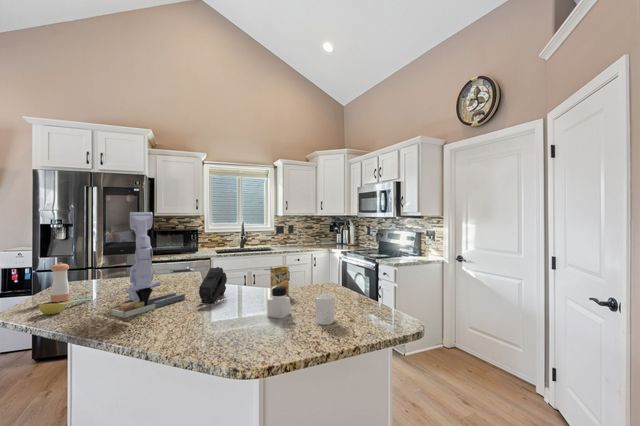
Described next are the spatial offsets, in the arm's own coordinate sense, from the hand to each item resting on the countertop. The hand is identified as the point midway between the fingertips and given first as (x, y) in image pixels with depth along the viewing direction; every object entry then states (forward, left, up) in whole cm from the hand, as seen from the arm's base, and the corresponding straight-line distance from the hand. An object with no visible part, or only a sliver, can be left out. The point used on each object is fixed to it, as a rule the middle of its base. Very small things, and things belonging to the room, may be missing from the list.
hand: (144, 305), depth 135 cm
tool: (+16, +25, -2) cm, 30 cm away
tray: (0, -5, -2) cm, 5 cm away
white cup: (+79, +21, -2) cm, 82 cm away
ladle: (-36, -12, -3) cm, 38 cm away
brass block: (0, -3, -2) cm, 4 cm away
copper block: (-1, -7, -2) cm, 7 cm away
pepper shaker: (-54, -8, -2) cm, 55 cm away
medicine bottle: (+58, +20, -2) cm, 62 cm away
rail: (0, +10, -2) cm, 11 cm away
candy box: (+41, +46, -2) cm, 62 cm away
